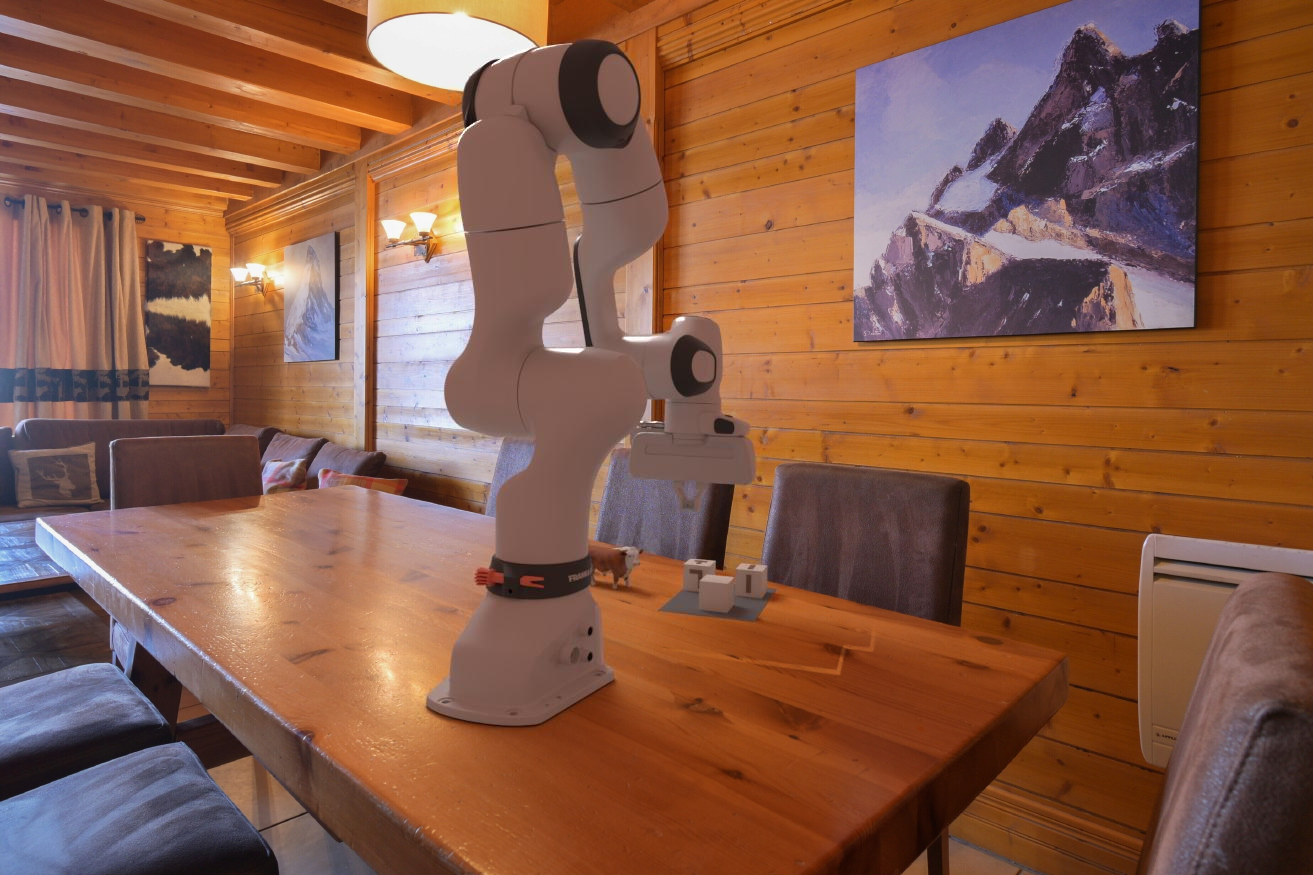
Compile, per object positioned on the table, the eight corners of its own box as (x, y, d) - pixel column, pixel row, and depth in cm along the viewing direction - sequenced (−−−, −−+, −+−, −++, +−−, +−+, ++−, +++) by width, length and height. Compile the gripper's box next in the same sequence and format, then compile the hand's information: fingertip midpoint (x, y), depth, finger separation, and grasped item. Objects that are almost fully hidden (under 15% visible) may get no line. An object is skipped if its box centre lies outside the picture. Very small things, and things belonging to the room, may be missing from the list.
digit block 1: (761, 598, 121) (762, 570, 120) (734, 595, 122) (735, 568, 122) (766, 591, 125) (767, 564, 125) (740, 589, 127) (741, 562, 126)
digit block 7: (708, 593, 124) (709, 565, 123) (682, 590, 125) (683, 563, 125) (715, 586, 128) (715, 560, 128) (690, 583, 129) (690, 557, 129)
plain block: (727, 612, 112) (727, 583, 112) (698, 609, 114) (699, 580, 114) (733, 605, 117) (734, 577, 116) (706, 602, 118) (706, 574, 118)
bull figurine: (634, 598, 122) (635, 550, 121) (574, 585, 130) (575, 539, 129) (650, 593, 125) (651, 546, 125) (591, 580, 133) (592, 535, 133)
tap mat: (754, 625, 108) (754, 621, 108) (657, 614, 113) (657, 610, 113) (776, 591, 127) (776, 588, 127) (692, 583, 132) (692, 580, 132)
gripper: (623, 420, 116) (620, 507, 116) (751, 424, 109) (748, 517, 110) (637, 420, 122) (634, 503, 122) (760, 424, 115) (756, 512, 115)
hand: (689, 510), depth 116 cm, fingers closed
